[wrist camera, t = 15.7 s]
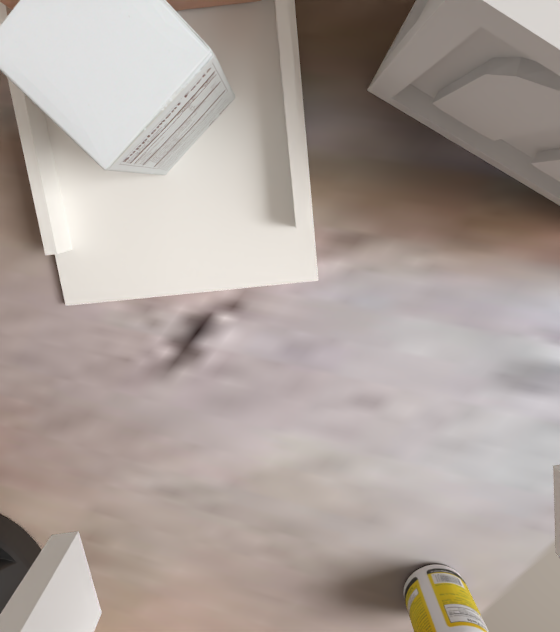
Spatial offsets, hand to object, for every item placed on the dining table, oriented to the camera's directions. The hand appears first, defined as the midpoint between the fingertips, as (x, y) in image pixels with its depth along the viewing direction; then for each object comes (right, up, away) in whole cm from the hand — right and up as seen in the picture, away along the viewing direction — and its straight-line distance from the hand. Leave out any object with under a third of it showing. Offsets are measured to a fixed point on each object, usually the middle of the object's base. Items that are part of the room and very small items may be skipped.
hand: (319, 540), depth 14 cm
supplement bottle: (+12, -17, +30) cm, 37 cm away
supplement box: (-9, +21, +20) cm, 30 cm away
